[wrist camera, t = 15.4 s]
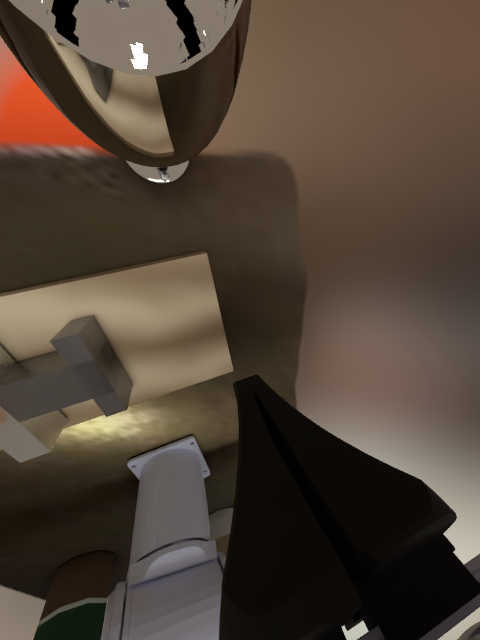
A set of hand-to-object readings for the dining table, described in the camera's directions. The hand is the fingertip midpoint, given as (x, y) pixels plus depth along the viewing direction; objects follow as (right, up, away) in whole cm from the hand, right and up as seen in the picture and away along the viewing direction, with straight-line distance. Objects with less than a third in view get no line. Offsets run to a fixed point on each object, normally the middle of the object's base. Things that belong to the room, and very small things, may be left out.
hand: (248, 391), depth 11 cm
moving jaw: (-14, 0, +5) cm, 15 cm away
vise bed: (-14, +1, +6) cm, 16 cm away
